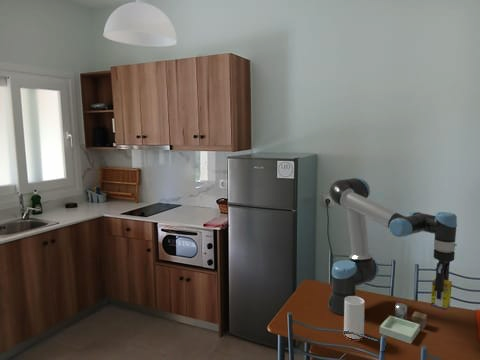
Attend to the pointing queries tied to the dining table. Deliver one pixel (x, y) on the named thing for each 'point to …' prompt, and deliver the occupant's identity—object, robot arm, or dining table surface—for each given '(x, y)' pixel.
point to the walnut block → (420, 319)
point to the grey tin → (401, 311)
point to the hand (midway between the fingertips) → (440, 302)
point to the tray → (399, 329)
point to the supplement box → (446, 294)
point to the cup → (354, 316)
